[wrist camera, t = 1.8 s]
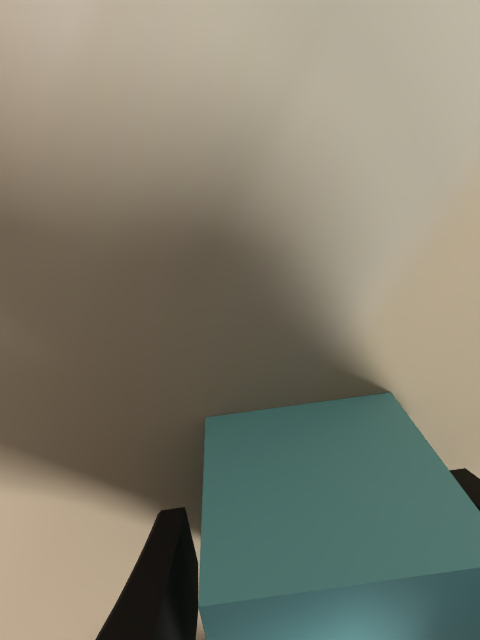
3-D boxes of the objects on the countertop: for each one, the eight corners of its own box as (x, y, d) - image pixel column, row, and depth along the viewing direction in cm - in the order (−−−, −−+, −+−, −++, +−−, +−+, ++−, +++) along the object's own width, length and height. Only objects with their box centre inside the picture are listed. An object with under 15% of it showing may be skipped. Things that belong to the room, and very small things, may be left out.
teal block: (389, 390, 11) (517, 562, 6) (386, 526, 13) (484, 734, 8) (205, 415, 11) (197, 606, 6) (229, 547, 13) (238, 770, 8)
